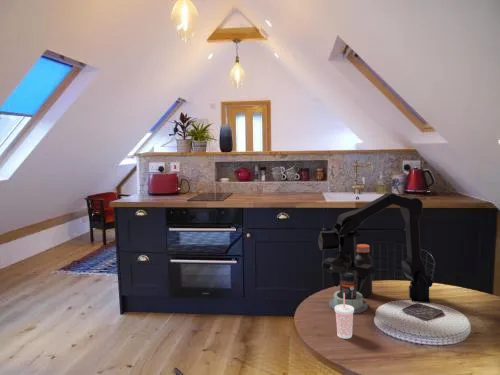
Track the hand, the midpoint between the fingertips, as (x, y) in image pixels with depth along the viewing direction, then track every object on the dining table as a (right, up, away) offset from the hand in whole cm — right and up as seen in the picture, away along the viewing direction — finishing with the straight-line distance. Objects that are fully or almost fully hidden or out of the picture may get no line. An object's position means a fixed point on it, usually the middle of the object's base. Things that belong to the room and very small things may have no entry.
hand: (347, 288), depth 147 cm
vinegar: (+9, -5, +11) cm, 15 cm away
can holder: (0, -6, +1) cm, 6 cm away
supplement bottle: (0, -6, +1) cm, 6 cm away
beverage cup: (-6, -10, -21) cm, 24 cm away
